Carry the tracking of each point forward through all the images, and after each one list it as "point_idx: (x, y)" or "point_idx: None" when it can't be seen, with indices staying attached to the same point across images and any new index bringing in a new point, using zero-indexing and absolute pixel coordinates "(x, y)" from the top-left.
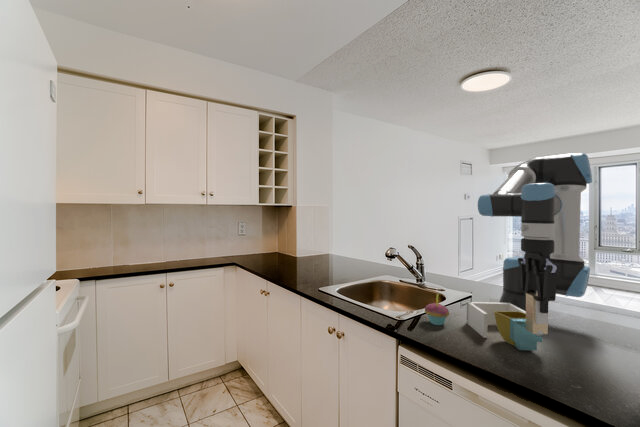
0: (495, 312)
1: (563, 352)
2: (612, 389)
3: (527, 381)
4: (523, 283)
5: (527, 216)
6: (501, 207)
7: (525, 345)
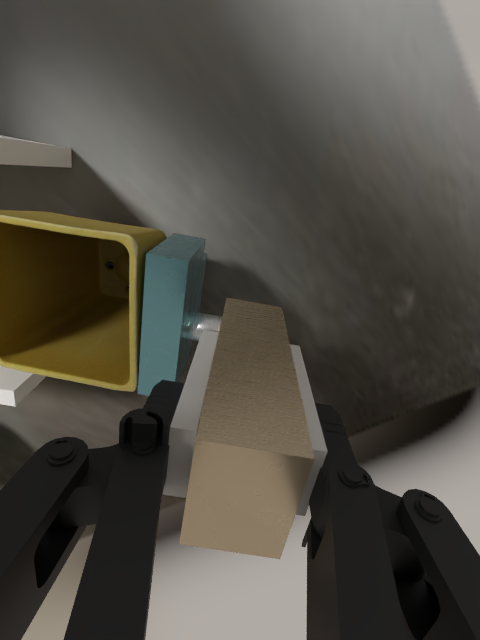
0: (11, 368)
1: (203, 114)
2: (455, 203)
3: (349, 408)
4: (42, 591)
5: None
6: None
7: (199, 302)
